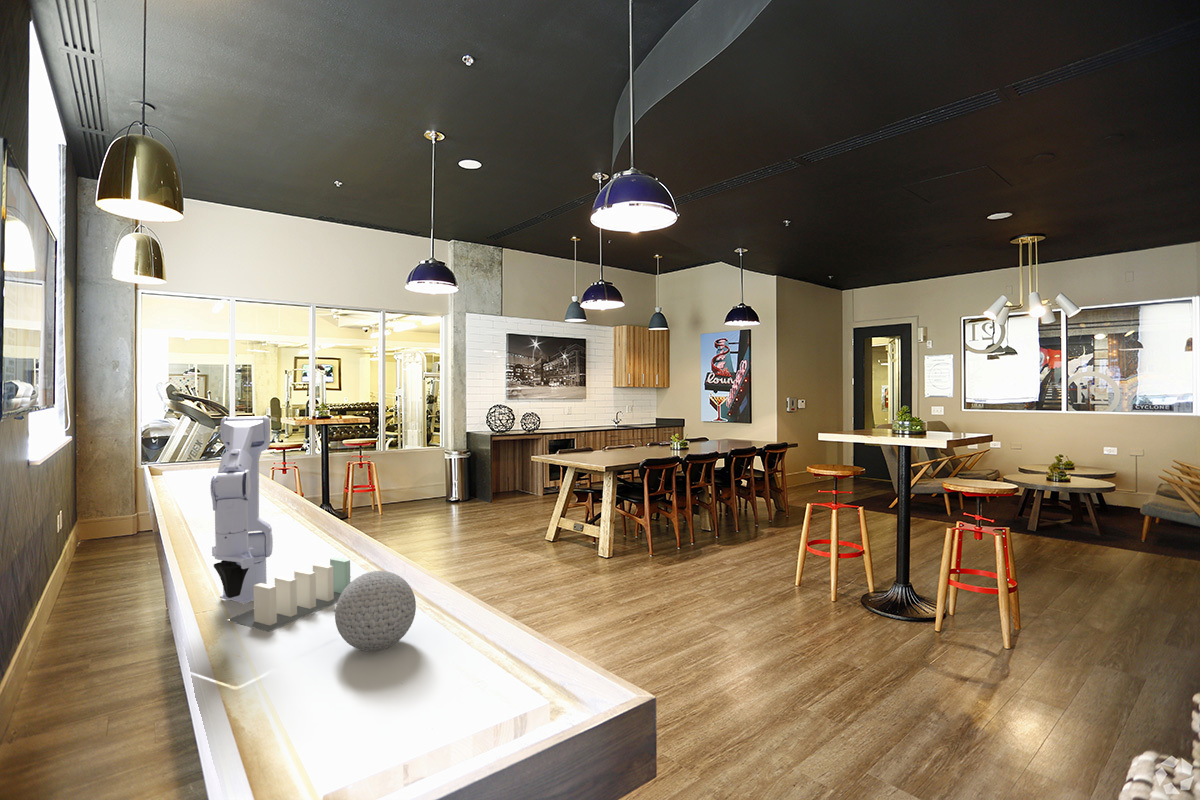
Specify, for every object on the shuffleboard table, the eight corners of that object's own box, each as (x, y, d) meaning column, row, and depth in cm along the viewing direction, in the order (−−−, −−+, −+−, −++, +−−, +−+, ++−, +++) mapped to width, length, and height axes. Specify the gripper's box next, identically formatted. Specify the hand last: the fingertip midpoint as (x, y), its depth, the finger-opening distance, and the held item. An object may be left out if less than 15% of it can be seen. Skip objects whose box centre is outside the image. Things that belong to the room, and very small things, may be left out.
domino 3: (310, 608, 136) (309, 574, 135) (294, 605, 138) (294, 571, 137) (316, 606, 137) (315, 572, 137) (300, 602, 139) (300, 569, 139)
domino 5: (345, 594, 145) (344, 561, 144) (330, 591, 147) (330, 559, 147) (350, 592, 146) (350, 560, 146) (335, 588, 148) (335, 557, 148)
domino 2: (290, 616, 131) (290, 581, 131) (275, 613, 133) (274, 578, 133) (297, 614, 133) (296, 579, 132) (281, 610, 135) (281, 575, 134)
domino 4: (328, 601, 140) (327, 568, 140) (313, 597, 142) (312, 565, 142) (333, 599, 142) (333, 566, 141) (318, 595, 144) (318, 563, 143)
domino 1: (269, 625, 127) (269, 588, 126) (254, 621, 129) (253, 585, 128) (276, 622, 128) (276, 586, 128) (261, 618, 130) (260, 582, 130)
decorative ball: (338, 672, 108) (337, 591, 107) (333, 639, 121) (332, 567, 120) (422, 654, 115) (422, 578, 114) (409, 625, 128) (408, 557, 127)
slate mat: (224, 621, 129) (224, 619, 129) (333, 580, 156) (333, 578, 156) (268, 633, 124) (268, 631, 124) (373, 588, 150) (373, 586, 150)
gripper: (269, 532, 120) (270, 598, 121) (237, 521, 129) (238, 583, 129) (231, 539, 114) (232, 608, 115) (200, 528, 123) (201, 592, 123)
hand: (233, 596), depth 122 cm, fingers closed
